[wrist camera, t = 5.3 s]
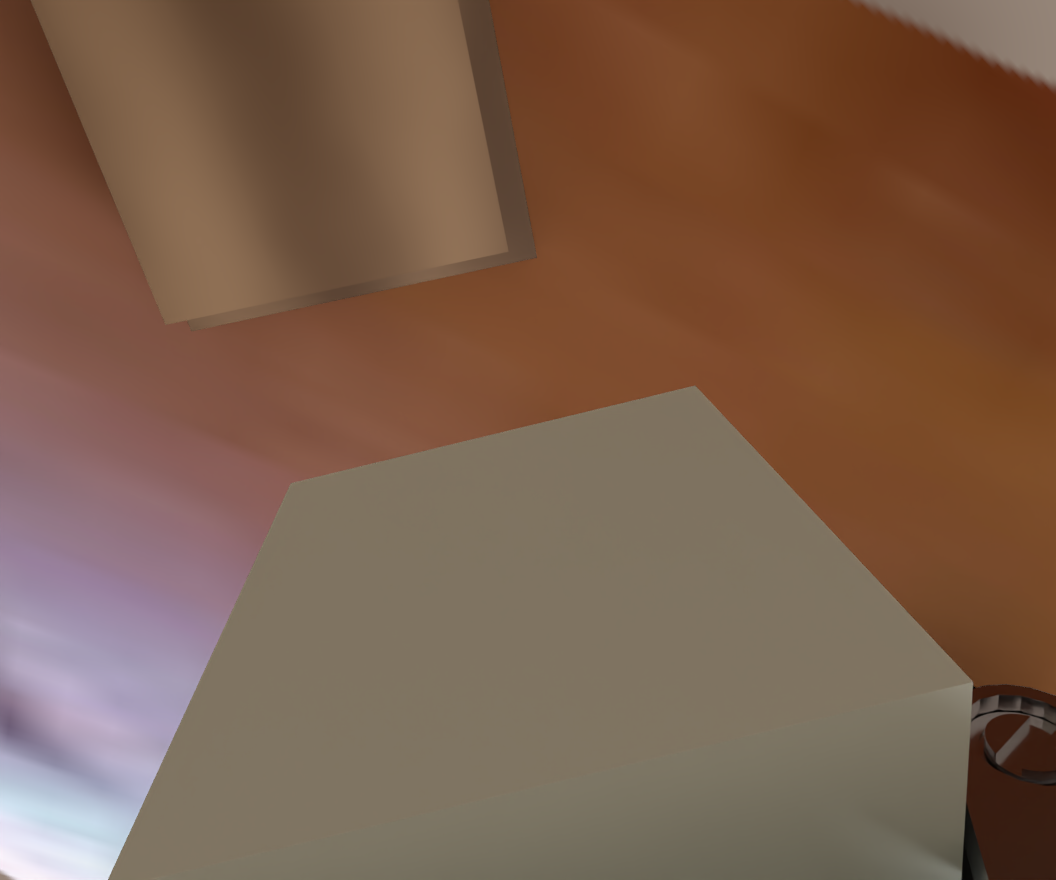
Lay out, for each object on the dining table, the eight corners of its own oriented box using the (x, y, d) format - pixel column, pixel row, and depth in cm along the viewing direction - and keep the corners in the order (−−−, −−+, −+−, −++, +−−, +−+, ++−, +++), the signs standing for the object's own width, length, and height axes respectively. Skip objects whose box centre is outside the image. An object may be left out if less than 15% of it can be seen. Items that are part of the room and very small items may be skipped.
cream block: (695, 385, 10) (973, 682, 5) (734, 693, 13) (947, 1122, 7) (290, 483, 10) (101, 890, 5) (409, 771, 13) (374, 1259, 7)
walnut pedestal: (454, -168, 20) (452, -255, 16) (533, 252, 25) (549, 278, 21) (45, -80, 20) (-77, -142, 16) (203, 322, 25) (145, 365, 21)
